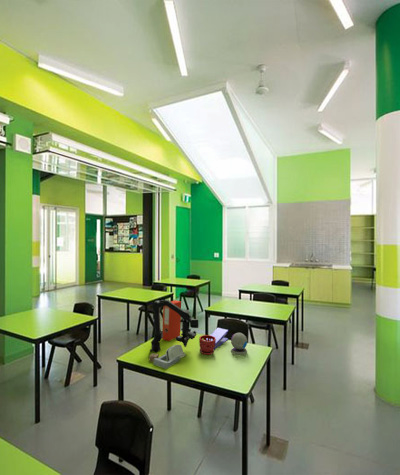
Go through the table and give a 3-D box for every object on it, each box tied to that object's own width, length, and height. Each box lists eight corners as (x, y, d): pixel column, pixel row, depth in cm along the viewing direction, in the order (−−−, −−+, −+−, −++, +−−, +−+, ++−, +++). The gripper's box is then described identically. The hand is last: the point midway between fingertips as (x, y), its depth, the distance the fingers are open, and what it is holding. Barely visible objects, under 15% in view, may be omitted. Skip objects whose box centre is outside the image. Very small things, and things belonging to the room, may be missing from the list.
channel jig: (153, 364, 195) (153, 358, 195) (167, 356, 208) (168, 351, 208) (166, 368, 188) (166, 363, 188) (179, 360, 202) (179, 355, 202)
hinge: (171, 363, 198) (168, 348, 200) (167, 363, 200) (164, 349, 202) (185, 355, 212) (182, 342, 213) (181, 355, 214) (177, 342, 216)
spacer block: (149, 361, 199) (149, 356, 199) (152, 358, 204) (152, 353, 204) (155, 362, 198) (155, 357, 198) (158, 359, 203) (158, 354, 203)
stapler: (228, 340, 246) (229, 329, 246) (213, 350, 222) (214, 338, 222) (217, 337, 252) (217, 326, 252) (202, 347, 228) (202, 335, 229)
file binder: (180, 335, 254) (181, 301, 254) (169, 341, 239) (170, 305, 239) (173, 333, 258) (174, 300, 258) (162, 339, 243) (163, 303, 243)
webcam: (236, 347, 230) (237, 329, 230) (250, 351, 221) (250, 333, 221) (227, 351, 220) (228, 333, 220) (241, 356, 212) (241, 337, 212)
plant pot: (196, 354, 213) (197, 339, 213) (202, 348, 225) (202, 333, 225) (212, 357, 209) (213, 341, 209) (217, 350, 221) (217, 336, 221)
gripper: (187, 332, 205) (186, 353, 205) (200, 326, 221) (200, 345, 221) (175, 329, 211) (175, 349, 211) (189, 323, 227) (188, 342, 227)
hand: (185, 346), depth 217 cm, fingers closed
